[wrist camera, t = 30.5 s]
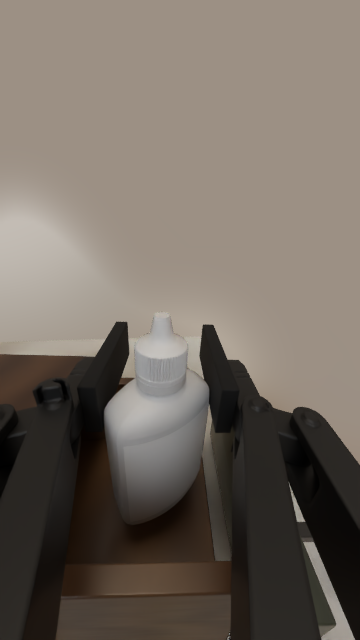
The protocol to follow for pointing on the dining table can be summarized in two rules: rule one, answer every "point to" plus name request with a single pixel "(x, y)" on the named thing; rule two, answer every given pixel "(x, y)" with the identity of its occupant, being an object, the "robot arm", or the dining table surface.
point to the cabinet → (30, 376)
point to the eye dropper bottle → (156, 426)
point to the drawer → (152, 560)
